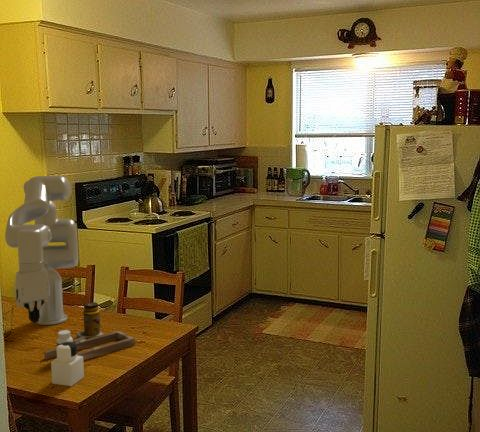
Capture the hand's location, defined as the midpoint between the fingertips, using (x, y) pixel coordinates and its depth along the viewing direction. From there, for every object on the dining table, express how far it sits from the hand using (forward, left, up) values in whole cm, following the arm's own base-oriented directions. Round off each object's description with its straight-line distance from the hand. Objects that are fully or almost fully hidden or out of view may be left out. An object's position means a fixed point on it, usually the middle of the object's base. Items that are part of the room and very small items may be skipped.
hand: (34, 321), depth 180 cm
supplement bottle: (0, +10, -16) cm, 19 cm away
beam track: (-2, +20, -16) cm, 26 cm away
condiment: (-16, +28, -16) cm, 36 cm away
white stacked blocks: (+16, +3, -16) cm, 23 cm away
